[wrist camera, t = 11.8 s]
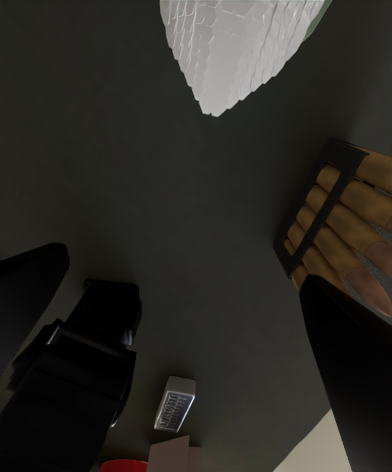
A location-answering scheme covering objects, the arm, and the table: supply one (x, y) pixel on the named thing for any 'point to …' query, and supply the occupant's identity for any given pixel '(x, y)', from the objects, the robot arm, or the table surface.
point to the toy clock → (124, 466)
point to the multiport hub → (175, 403)
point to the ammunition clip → (341, 222)
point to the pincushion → (233, 43)
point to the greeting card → (174, 456)
